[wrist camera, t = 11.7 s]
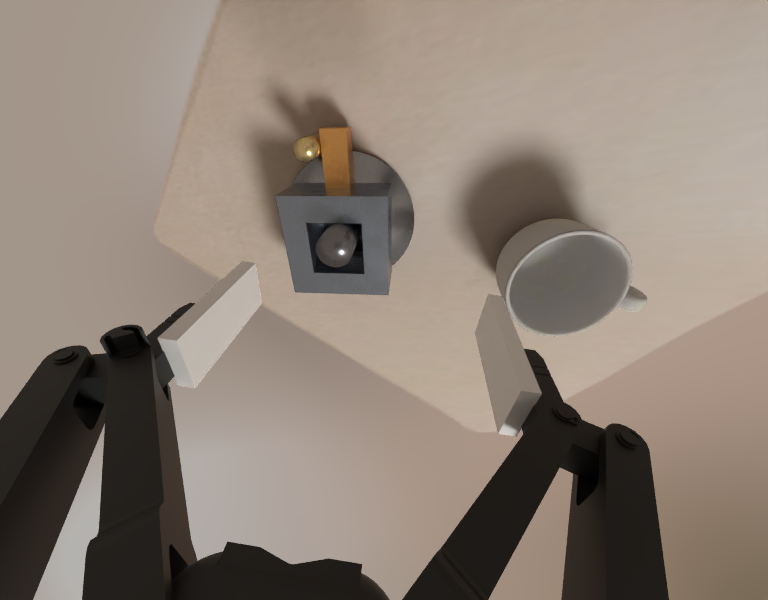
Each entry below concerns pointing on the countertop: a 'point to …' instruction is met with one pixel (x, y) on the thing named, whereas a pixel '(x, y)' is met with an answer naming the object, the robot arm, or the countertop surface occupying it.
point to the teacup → (565, 277)
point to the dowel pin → (307, 148)
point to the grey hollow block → (338, 205)
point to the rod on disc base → (348, 236)
